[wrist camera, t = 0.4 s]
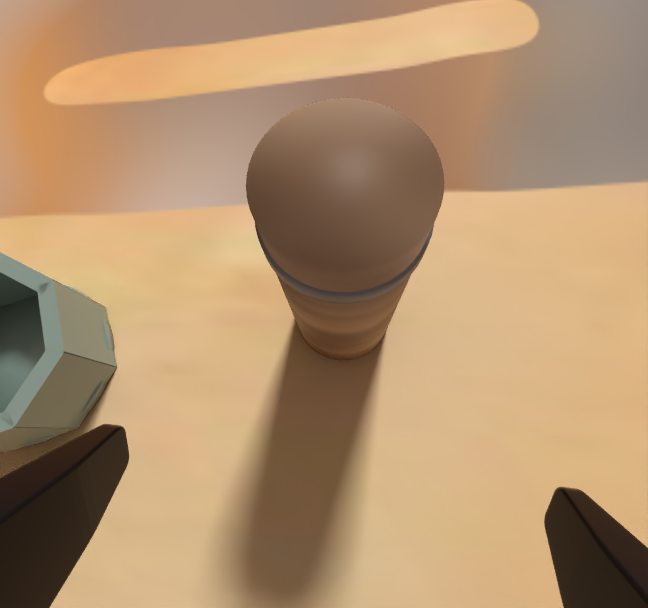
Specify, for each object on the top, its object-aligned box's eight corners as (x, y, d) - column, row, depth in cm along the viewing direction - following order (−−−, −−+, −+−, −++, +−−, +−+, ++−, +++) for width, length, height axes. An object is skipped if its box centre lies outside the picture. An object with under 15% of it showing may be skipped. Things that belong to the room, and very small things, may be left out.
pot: (127, 413, 22) (75, 409, 18) (-40, 470, 21) (-136, 480, 17) (99, 266, 24) (48, 230, 20) (-51, 313, 24) (-136, 288, 20)
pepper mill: (404, 343, 22) (483, 235, 10) (312, 374, 22) (275, 303, 10) (370, 258, 24) (402, 72, 12) (283, 287, 24) (220, 128, 11)
